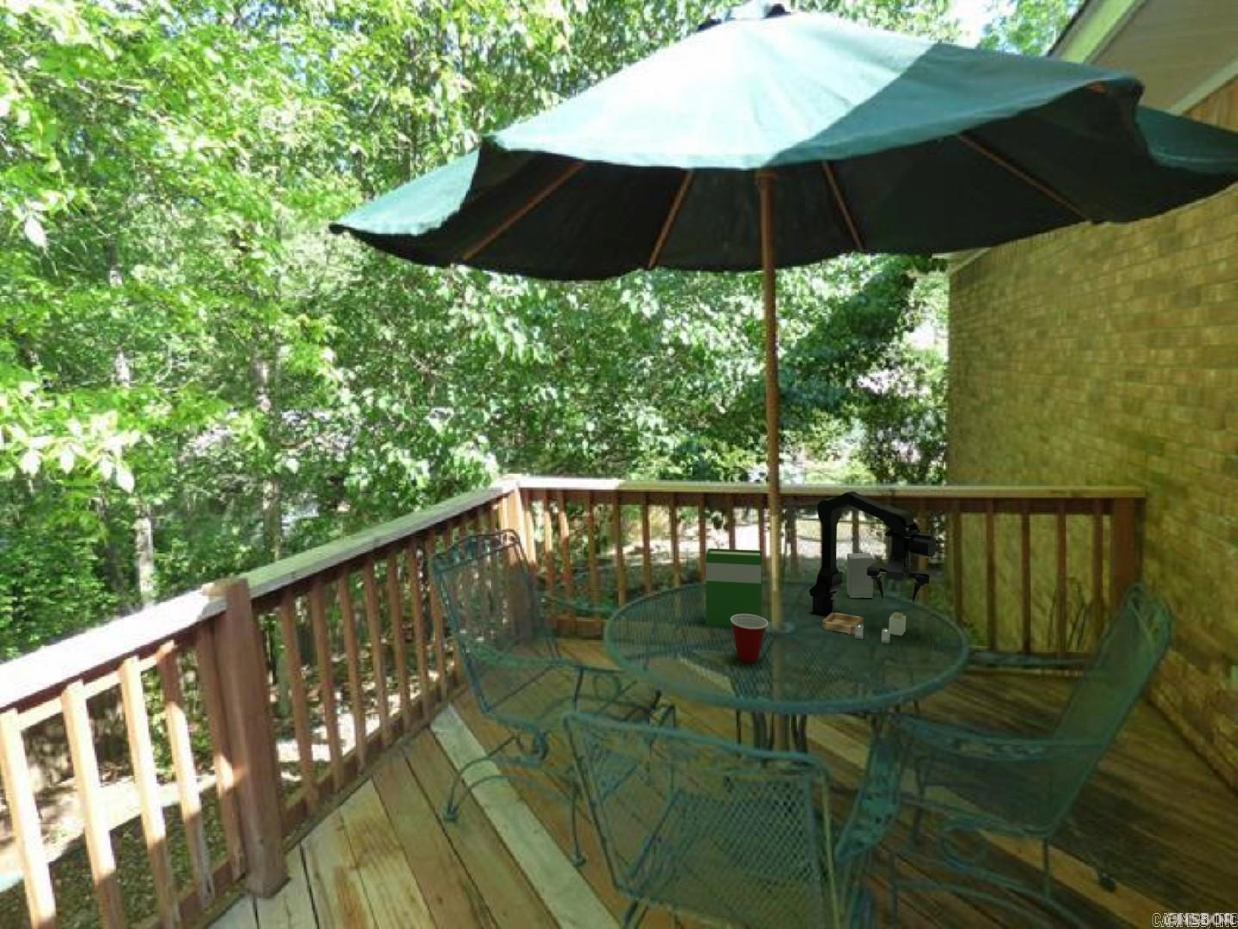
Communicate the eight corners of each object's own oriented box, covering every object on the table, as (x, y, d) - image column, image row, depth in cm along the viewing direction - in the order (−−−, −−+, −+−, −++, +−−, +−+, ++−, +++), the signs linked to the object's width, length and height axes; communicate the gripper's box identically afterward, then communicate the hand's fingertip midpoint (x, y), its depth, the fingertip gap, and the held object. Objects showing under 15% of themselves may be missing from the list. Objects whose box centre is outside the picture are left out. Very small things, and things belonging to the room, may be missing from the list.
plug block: (888, 633, 240) (889, 615, 239) (892, 628, 244) (893, 610, 243) (901, 635, 238) (902, 617, 237) (905, 631, 242) (906, 612, 241)
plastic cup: (759, 669, 213) (760, 628, 211) (723, 661, 218) (724, 621, 217) (773, 656, 222) (774, 617, 220) (738, 649, 228) (739, 611, 226)
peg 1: (854, 638, 236) (854, 625, 236) (856, 635, 238) (856, 623, 238) (861, 639, 235) (862, 627, 234) (863, 637, 237) (864, 624, 236)
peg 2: (880, 642, 232) (881, 630, 231) (882, 640, 234) (882, 627, 233) (888, 644, 231) (889, 631, 230) (890, 641, 233) (891, 629, 232)
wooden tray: (821, 629, 244) (821, 622, 244) (832, 619, 254) (832, 612, 253) (854, 635, 238) (854, 627, 238) (863, 624, 248) (864, 617, 248)
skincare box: (868, 594, 281) (870, 552, 279) (873, 600, 274) (874, 557, 272) (845, 593, 281) (846, 551, 279) (849, 599, 274) (850, 556, 272)
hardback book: (761, 621, 253) (762, 550, 250) (760, 628, 246) (761, 556, 243) (708, 617, 257) (708, 548, 254) (705, 625, 249) (706, 553, 246)
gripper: (863, 553, 236) (861, 602, 238) (926, 561, 226) (924, 612, 228) (871, 546, 245) (870, 592, 247) (933, 553, 235) (931, 602, 237)
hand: (898, 599), depth 240 cm, fingers open, 9 cm apart
